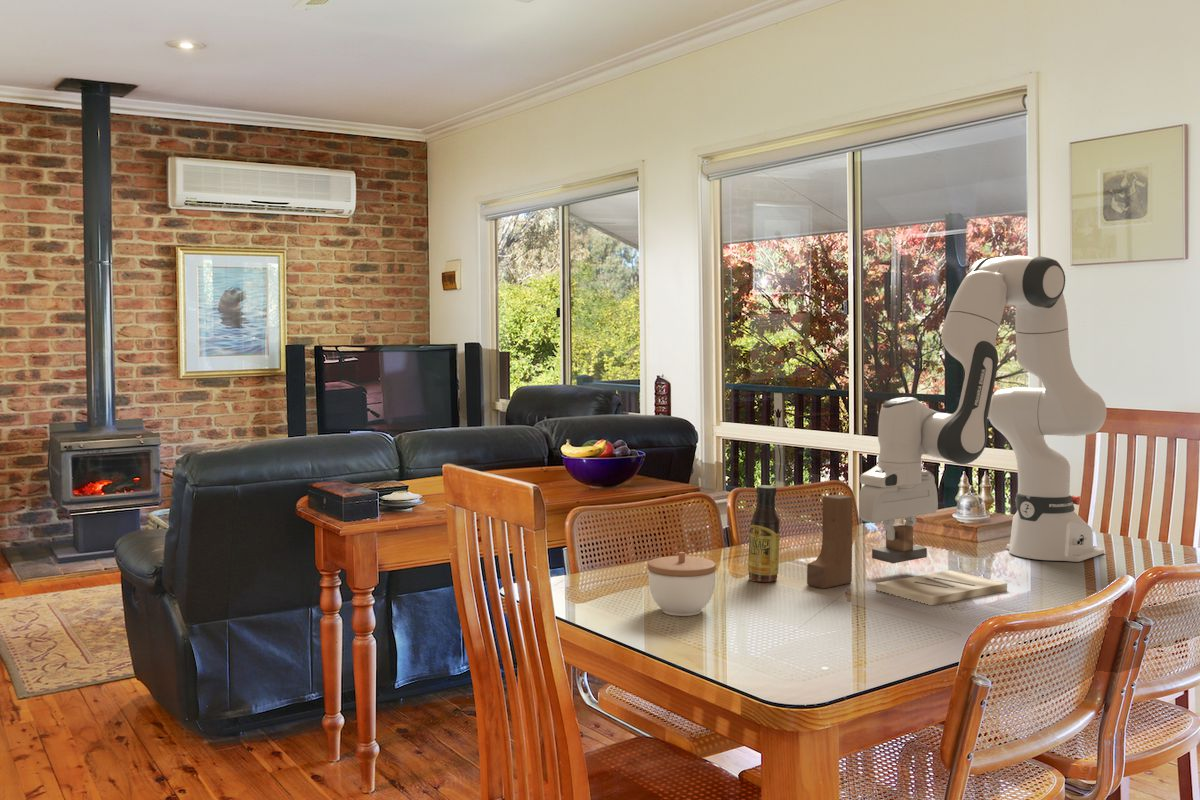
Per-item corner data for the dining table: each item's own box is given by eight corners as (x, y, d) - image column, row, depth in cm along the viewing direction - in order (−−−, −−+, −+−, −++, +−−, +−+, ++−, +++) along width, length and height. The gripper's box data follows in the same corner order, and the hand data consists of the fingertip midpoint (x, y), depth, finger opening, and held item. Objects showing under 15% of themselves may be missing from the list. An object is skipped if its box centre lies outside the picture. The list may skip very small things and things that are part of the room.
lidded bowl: (647, 602, 201) (647, 545, 200) (713, 602, 200) (713, 545, 200) (648, 620, 188) (648, 559, 188) (718, 620, 188) (718, 559, 187)
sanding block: (905, 552, 228) (905, 520, 228) (926, 557, 223) (926, 524, 223) (872, 558, 223) (872, 525, 223) (893, 563, 218) (893, 530, 218)
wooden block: (823, 589, 211) (823, 500, 210) (806, 585, 214) (806, 498, 213) (852, 583, 216) (853, 496, 215) (835, 579, 220) (836, 494, 219)
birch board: (950, 577, 221) (950, 569, 221) (1007, 590, 209) (1007, 582, 209) (875, 590, 210) (876, 582, 209) (931, 605, 198) (931, 597, 198)
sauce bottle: (742, 580, 219) (742, 486, 218) (759, 575, 224) (759, 483, 222) (768, 585, 215) (769, 489, 213) (785, 580, 219) (786, 485, 218)
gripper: (922, 468, 230) (922, 530, 231) (854, 476, 220) (854, 541, 221) (945, 471, 225) (944, 535, 226) (876, 480, 214) (876, 546, 215)
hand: (899, 538), depth 223 cm, fingers closed on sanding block, 3 cm apart
